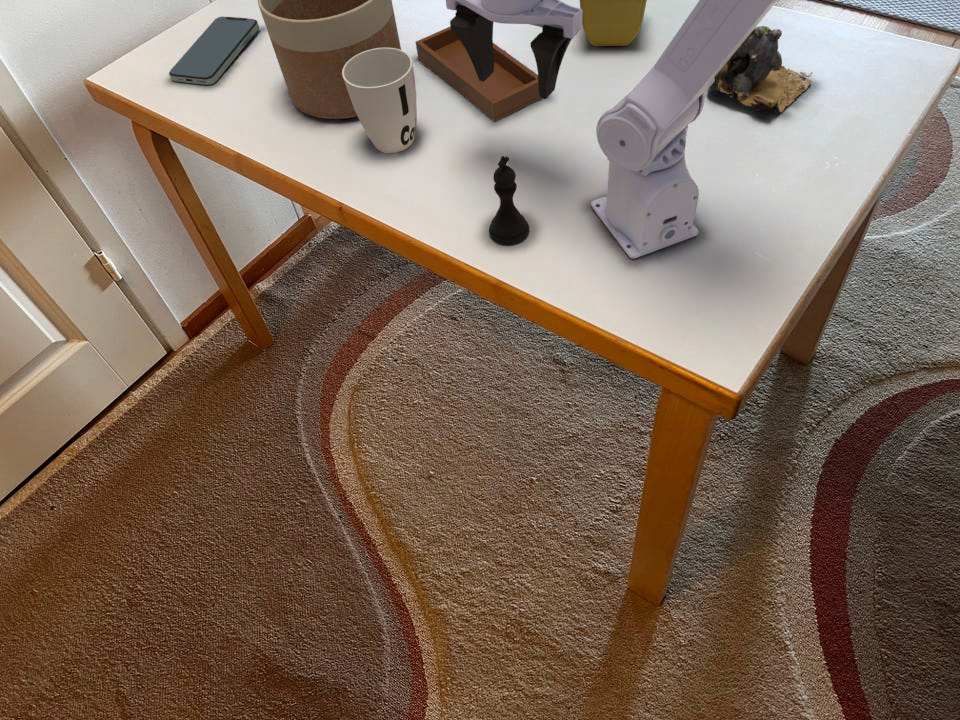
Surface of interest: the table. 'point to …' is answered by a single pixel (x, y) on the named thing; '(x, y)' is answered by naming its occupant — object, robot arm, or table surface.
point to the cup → (383, 96)
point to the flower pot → (612, 21)
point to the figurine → (760, 73)
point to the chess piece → (507, 208)
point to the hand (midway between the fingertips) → (516, 84)
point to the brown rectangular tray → (496, 94)
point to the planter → (325, 46)
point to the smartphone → (214, 50)
